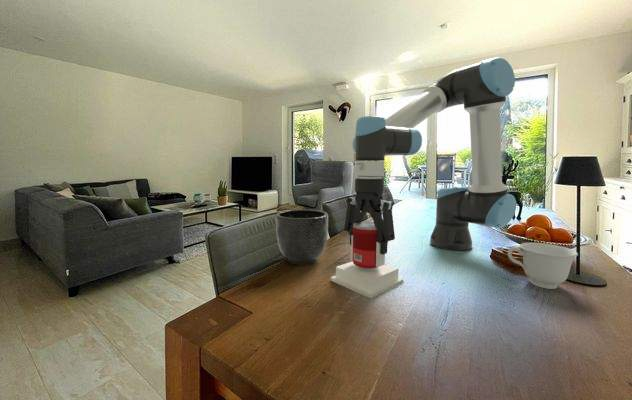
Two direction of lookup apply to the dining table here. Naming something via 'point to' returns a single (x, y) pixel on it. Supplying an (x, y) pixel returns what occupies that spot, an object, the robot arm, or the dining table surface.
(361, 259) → the canned food
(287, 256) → the planter
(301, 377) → the dining table surface
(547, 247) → the teacup
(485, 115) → the robot arm
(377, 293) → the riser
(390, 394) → the dining table surface
